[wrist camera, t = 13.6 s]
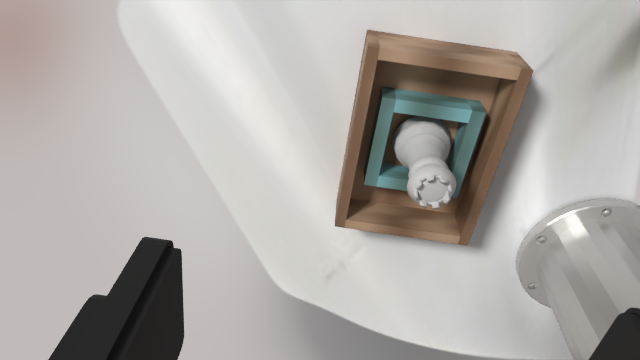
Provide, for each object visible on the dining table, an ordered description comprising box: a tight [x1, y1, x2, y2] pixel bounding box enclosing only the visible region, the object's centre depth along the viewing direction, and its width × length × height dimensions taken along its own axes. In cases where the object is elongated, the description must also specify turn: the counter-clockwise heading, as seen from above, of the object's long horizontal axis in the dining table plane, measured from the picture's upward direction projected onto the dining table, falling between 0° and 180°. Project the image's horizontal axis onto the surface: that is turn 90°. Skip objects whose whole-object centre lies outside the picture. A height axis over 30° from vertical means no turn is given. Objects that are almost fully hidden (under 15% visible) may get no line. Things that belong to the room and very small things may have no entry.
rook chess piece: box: [392, 116, 456, 210], centre depth 35 cm, size 4×4×8 cm
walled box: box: [335, 30, 533, 245], centre depth 37 cm, size 11×15×4 cm
